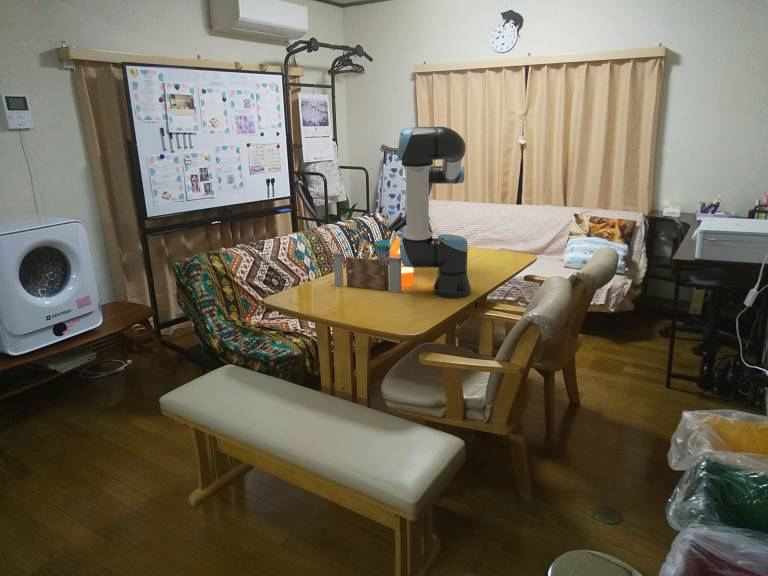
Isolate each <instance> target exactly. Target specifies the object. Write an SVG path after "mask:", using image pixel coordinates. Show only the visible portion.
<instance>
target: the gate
mask: <svg viewBox="0 0 768 576" xmlns="http://www.w3.org/2000/svg"><path fill="white" fill-rule="evenodd" d="M345 266H346V267H345V268H346V270H345V271H346V286H347V287H353V288H361V289H362V288H364V289H373V290H380V291H390V289H389V263H388V261H387V260H377V259H374V258H365V257H354V256H353V257H351V256H346V257H345Z"/></svg>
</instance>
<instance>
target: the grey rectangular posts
mask: <svg viewBox="0 0 768 576" xmlns="http://www.w3.org/2000/svg"><path fill="white" fill-rule="evenodd" d="M343 256H344V252H340V251H335V252H333V253H332V257H333V271H334V286H335V285H336V286H335V287H342V285H343V286H344V270H343V269H344V268H343ZM387 261H389V263H388V270H389V292H391V293H398V292H400V293H401V292H402V287H401V257H388V258H387Z"/></svg>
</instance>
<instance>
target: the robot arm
mask: <svg viewBox="0 0 768 576" xmlns="http://www.w3.org/2000/svg"><path fill="white" fill-rule="evenodd" d="M397 145H398V148H397V160H398V161H400V162H401V166H402V168H403V169H405V195H406V196H405V197H406V201H405V202H406V206H405V207H406V213H405V214H404V213H402V212H400V213H398V216H397V217H396V219H394V220H393V222H392V223H391V224H390V225H389V226H388V227H387V229H388V231H389V238H390V239H389V240H390V242H389V243H390V245H391V246H392V245H393V243H394V241H395V240H396V237H397V232H399V231H400V230H401V229H403V228H404V227H405V226H406V230H405V231H404V232H403V234H402V237H400V238H401V239H400V241H399V246H400V256H401V261H402V264H403V265H404V266H405V267H411V268H413V269H416V268H417V269H418V268H419V269H420V268H422V269H424V268H425V269H430V268H431V269H435V268H436V269H437V276H436V278H435V281H434V284H433V290H432V291H433V292H432V293H433V295H435V296H437V297H440V298H444V299H445V298H447V299H460V298H461V299H462V298H466V297H468V296H470V295H471V294H472V285H471V283H470V280H469V277H468V252H469V249H468V247H469V246H468V244H469V243H468V240H467V239H466V238H464V237H463V236H460V235H456V234H450V233H449V234H448V233H447V234H446V233H445V234H443V233H441V234H438V236H437V238H434V236H433V234H434V233H433V230H432V226H431V222H430V219H431V218H430V215H429V213H430V211H429V205H430V204H429V203H430V202H429V201H430V199H429V197H430V196H431V195H430V194H431V192H432V189H433V185H437V184H438V185H439V184H442V185H443V184H447V185H449V184H450V185H451V184H455V185H457V184H463V183H464V182H465V166H463V165H462V159H463V158H464V156H465V154H466V149H467V147H466V142H465V140H464V138H463V137H462V136H461V135H460V134H459V133H458V132H457V131H455V130H453V129H451V127H445V126H411V127H404V128H401V130H400V134H399V139H398V144H397ZM436 160H437V161H439V160H441V161H442V165H433V164H434V161H436Z"/></svg>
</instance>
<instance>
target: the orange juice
mask: <svg viewBox="0 0 768 576" xmlns="http://www.w3.org/2000/svg"><path fill="white" fill-rule="evenodd" d="M396 237H397V238H395V240H394V241H395V242H394V243H393V245H392V247H391V248H390V257H401V256H400V246H399V241H400V239H401V238H402V237H399V236H396ZM412 285H413V286H414V268H411V267H405V266H404V265H403V264H402V261H401V288H405V286H407V287H413V286H412Z"/></svg>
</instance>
